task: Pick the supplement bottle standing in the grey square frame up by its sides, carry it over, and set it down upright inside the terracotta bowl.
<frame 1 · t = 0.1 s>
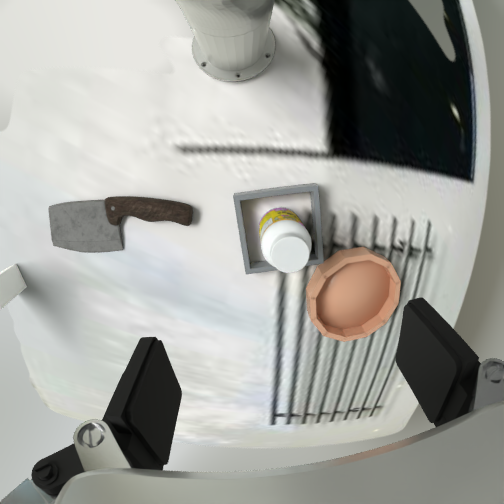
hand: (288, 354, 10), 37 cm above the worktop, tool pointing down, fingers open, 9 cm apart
bowl: (351, 291, 51), on the worktop
milk: (15, 277, 49), on the worktop
grey square frame: (279, 226, 46), on the worktop
supplement bottle: (279, 226, 47), resting in grey square frame
cleaver: (113, 222, 46), on the worktop
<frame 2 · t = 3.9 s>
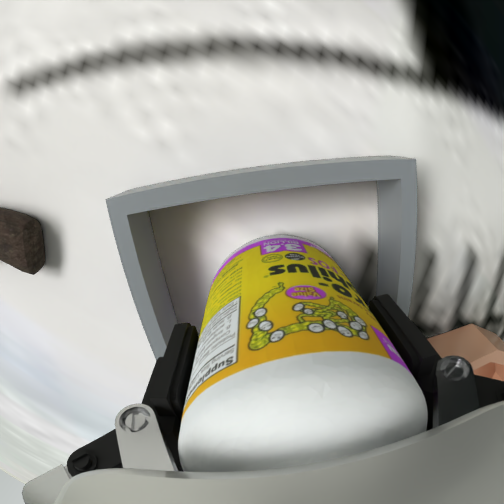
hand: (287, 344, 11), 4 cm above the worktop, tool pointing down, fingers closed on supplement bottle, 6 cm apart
bowl: (424, 406, 19), on the worktop
grey square frame: (276, 292, 15), on the worktop
supplement bottle: (276, 291, 15), resting in grey square frame, touching gripper
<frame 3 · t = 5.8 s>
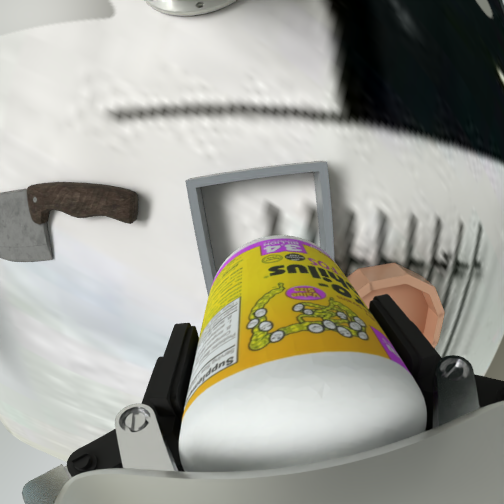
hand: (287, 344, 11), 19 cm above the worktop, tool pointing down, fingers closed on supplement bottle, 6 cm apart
bowl: (373, 328, 33), on the worktop
grey square frame: (264, 231, 29), on the worktop
supplement bottle: (276, 291, 15), point 15 cm above the worktop, touching gripper
cleaver: (40, 220, 29), on the worktop
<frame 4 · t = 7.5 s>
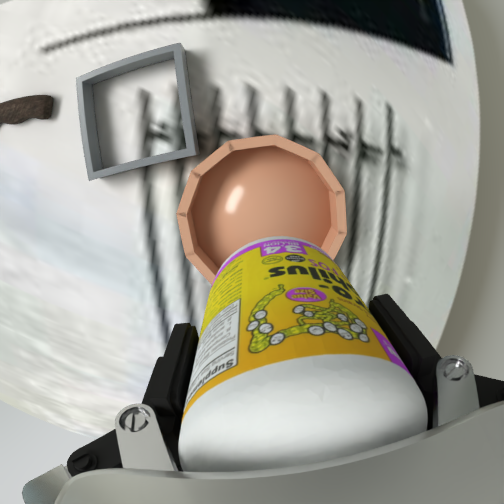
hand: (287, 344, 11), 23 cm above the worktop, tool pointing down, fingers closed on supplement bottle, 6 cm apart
bowl: (262, 215, 32), on the worktop
grey square frame: (137, 112, 28), on the worktop
supplement bottle: (276, 292, 15), point 18 cm above the worktop, touching gripper
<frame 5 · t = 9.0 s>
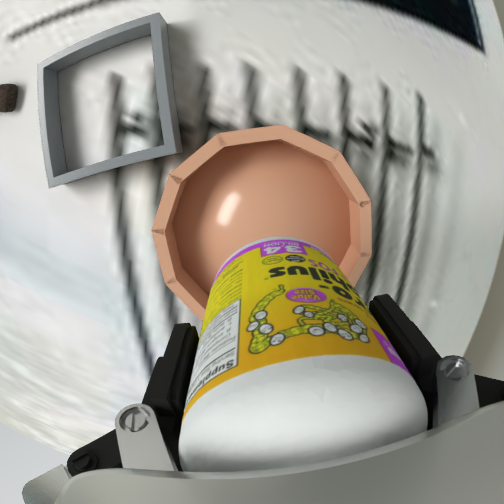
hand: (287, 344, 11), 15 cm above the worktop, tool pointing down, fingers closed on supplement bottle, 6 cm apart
bowl: (263, 230, 25), on the worktop
grey square frame: (106, 102, 21), on the worktop
supplement bottle: (276, 292, 15), point 11 cm above the worktop, touching gripper
when the fingers open (6 cm above the worktop, at t = 11.5 s): supplement bottle drops 1 cm, resting on bowl.
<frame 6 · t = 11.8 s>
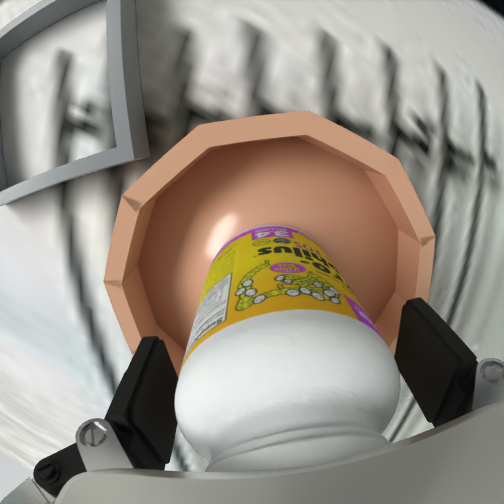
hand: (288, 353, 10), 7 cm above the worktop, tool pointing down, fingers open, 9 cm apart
bowl: (272, 273, 17), on the worktop
grey square frame: (51, 90, 13), on the worktop
supplement bottle: (269, 277, 16), point 1 cm above the worktop, touching bowl
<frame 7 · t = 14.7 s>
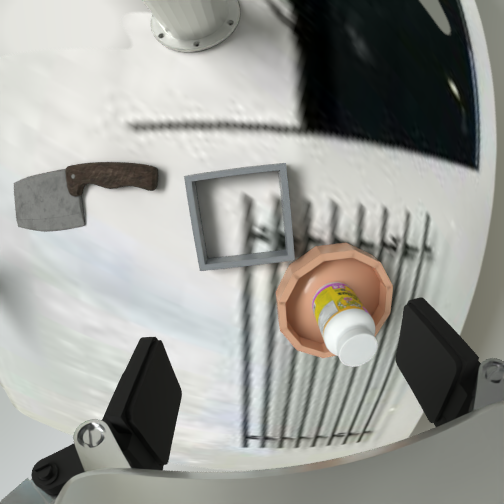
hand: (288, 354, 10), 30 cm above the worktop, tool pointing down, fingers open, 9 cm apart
bowl: (332, 298, 43), on the worktop
grey square frame: (241, 215, 39), on the worktop
supplement bottle: (332, 299, 42), point 1 cm above the worktop, touching bowl
cleaver: (75, 194, 38), on the worktop
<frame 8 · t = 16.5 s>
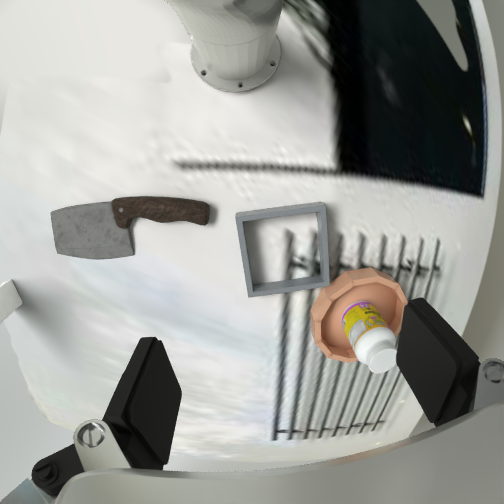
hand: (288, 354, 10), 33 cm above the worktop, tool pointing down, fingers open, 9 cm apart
bowl: (357, 312, 49), on the worktop
milk: (11, 293, 47), on the worktop
grey square frame: (283, 247, 44), on the worktop
supplement bottle: (357, 314, 48), point 1 cm above the worktop, touching bowl
cleaver: (121, 225, 43), on the worktop
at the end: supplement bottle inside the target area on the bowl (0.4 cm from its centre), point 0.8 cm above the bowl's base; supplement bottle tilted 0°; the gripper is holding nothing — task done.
